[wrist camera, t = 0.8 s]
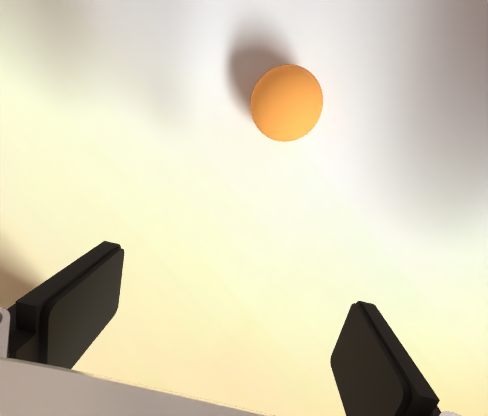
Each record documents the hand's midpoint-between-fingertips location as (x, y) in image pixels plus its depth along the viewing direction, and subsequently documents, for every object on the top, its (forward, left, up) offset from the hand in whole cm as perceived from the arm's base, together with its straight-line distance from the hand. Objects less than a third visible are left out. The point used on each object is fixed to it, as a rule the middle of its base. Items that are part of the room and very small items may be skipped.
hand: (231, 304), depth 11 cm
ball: (-2, -9, -15) cm, 18 cm away
